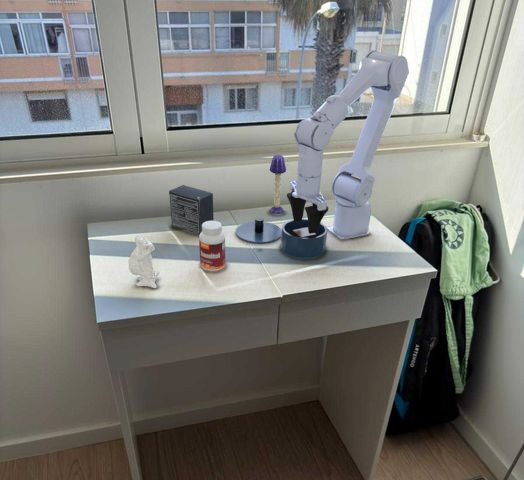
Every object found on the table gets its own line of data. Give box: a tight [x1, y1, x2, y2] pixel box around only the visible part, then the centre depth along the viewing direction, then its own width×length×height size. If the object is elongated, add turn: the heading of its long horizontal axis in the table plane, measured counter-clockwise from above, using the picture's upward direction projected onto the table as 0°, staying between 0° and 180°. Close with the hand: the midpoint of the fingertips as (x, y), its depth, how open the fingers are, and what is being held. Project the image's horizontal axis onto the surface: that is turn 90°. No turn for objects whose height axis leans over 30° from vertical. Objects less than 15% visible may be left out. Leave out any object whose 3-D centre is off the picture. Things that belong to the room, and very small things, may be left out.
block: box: [292, 227, 316, 238], centre depth 134 cm, size 4×4×4 cm
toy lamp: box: [269, 154, 287, 215], centre depth 148 cm, size 5×5×17 cm
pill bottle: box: [198, 220, 226, 272], centre depth 124 cm, size 6×6×11 cm
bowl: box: [280, 218, 329, 259], centre depth 134 cm, size 12×12×6 cm
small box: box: [168, 184, 215, 236], centre depth 140 cm, size 11×6×10 cm, turn 58°
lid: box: [235, 216, 282, 245], centre depth 140 cm, size 13×13×5 cm
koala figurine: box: [128, 236, 160, 289], centre depth 117 cm, size 8×7×12 cm
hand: (305, 226), depth 132 cm, fingers open, 7 cm apart
